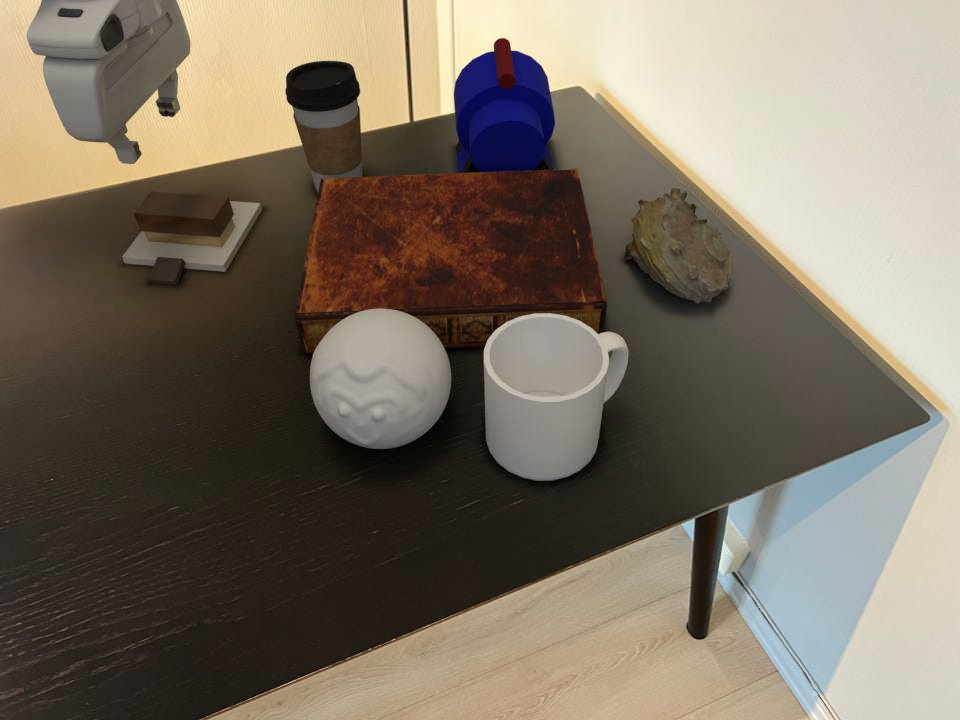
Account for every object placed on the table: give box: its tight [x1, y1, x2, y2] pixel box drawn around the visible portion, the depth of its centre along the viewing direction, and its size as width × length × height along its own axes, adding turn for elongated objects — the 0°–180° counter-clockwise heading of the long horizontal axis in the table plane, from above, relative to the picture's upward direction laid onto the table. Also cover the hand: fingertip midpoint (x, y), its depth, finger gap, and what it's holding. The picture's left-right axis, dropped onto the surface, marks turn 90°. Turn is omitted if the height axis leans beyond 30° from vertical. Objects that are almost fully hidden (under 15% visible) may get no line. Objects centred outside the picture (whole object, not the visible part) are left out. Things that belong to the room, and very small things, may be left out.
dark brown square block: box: [148, 257, 185, 286], centre depth 87 cm, size 3×3×1 cm
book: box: [293, 168, 608, 355], centre depth 85 cm, size 30×24×5 cm
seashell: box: [623, 187, 733, 305], centre depth 83 cm, size 11×14×10 cm
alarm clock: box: [453, 37, 556, 173], centre depth 97 cm, size 12×12×15 cm
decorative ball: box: [309, 309, 452, 450], centre depth 68 cm, size 12×12×12 cm
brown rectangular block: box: [133, 190, 235, 247], centre depth 90 cm, size 9×4×4 cm, turn 81°
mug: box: [483, 313, 629, 482], centre depth 67 cm, size 13×10×10 cm
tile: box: [121, 200, 263, 273], centre depth 92 cm, size 12×12×1 cm
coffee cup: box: [285, 60, 364, 194], centre depth 94 cm, size 8×8×15 cm
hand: (151, 136), depth 83 cm, fingers open, 8 cm apart
